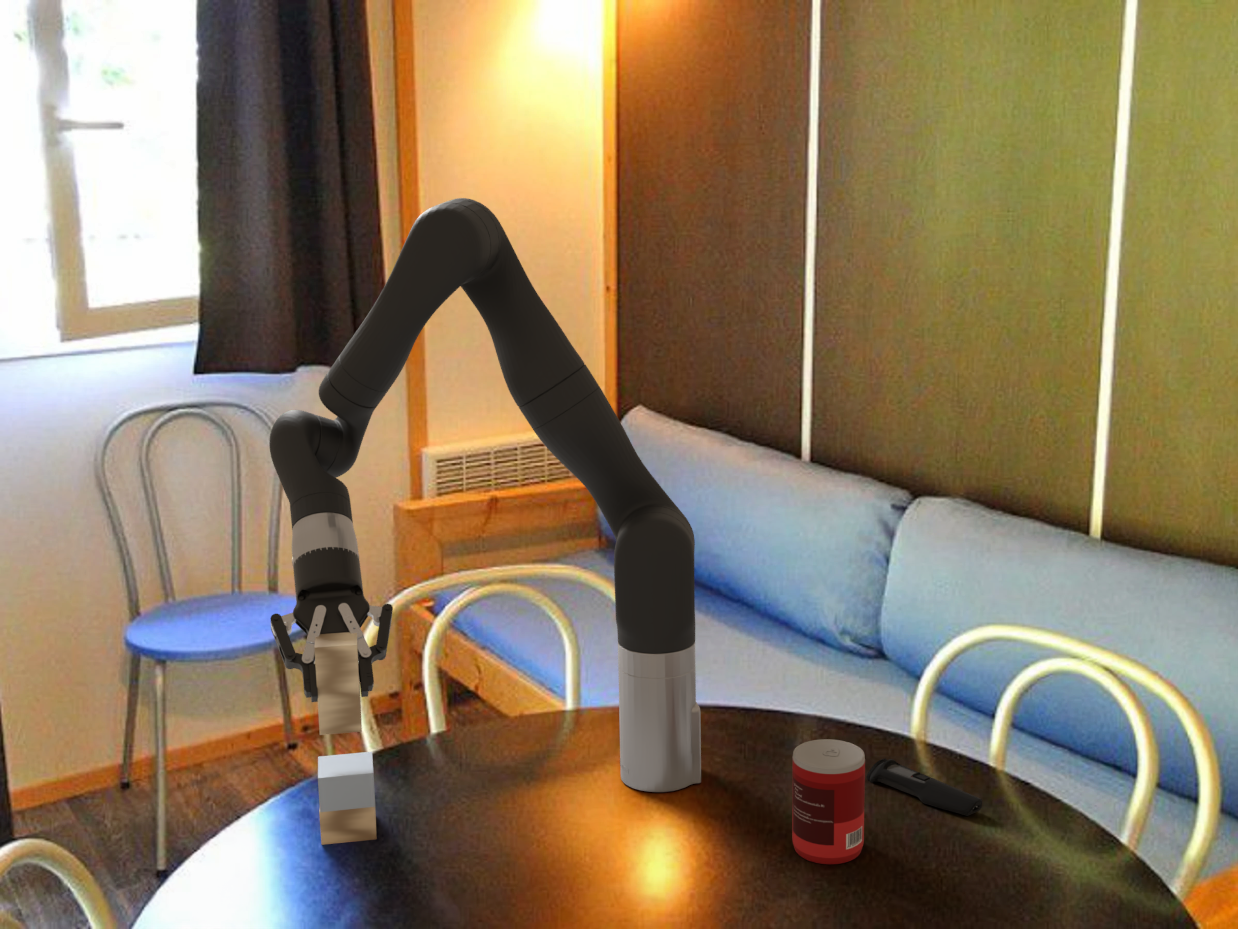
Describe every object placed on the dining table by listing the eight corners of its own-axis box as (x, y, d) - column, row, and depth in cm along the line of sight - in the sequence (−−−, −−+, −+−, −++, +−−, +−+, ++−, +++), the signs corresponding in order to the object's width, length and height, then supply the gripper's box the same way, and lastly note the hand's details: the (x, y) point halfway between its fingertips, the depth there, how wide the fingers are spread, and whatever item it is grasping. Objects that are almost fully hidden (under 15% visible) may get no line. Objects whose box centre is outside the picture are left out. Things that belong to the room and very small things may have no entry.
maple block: (361, 716, 160) (356, 631, 158) (361, 731, 156) (356, 644, 154) (320, 719, 159) (315, 634, 157) (319, 735, 155) (314, 647, 153)
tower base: (375, 817, 163) (373, 784, 163) (376, 840, 158) (374, 807, 157) (322, 822, 162) (320, 789, 162) (321, 846, 157) (319, 812, 156)
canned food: (861, 832, 157) (862, 739, 155) (866, 867, 149) (867, 769, 147) (791, 831, 158) (791, 737, 155) (792, 865, 150) (793, 767, 148)
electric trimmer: (967, 829, 158) (968, 803, 158) (863, 782, 170) (864, 758, 170) (988, 820, 161) (990, 793, 160) (885, 774, 173) (886, 750, 172)
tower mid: (373, 784, 163) (371, 751, 162) (375, 806, 157) (373, 773, 156) (320, 789, 162) (318, 756, 161) (319, 812, 156) (317, 778, 155)
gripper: (261, 550, 159) (272, 689, 150) (390, 539, 163) (408, 674, 154) (263, 583, 165) (273, 718, 156) (387, 572, 169) (404, 703, 160)
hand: (340, 695), depth 155 cm, fingers closed on maple block, 4 cm apart
